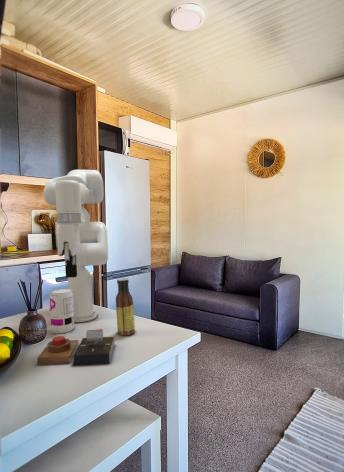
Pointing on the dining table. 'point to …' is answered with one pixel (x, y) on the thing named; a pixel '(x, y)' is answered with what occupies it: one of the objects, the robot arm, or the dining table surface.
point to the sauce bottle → (124, 308)
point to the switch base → (94, 352)
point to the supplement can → (61, 310)
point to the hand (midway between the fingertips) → (71, 276)
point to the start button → (59, 340)
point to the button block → (58, 353)
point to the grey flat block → (95, 337)
